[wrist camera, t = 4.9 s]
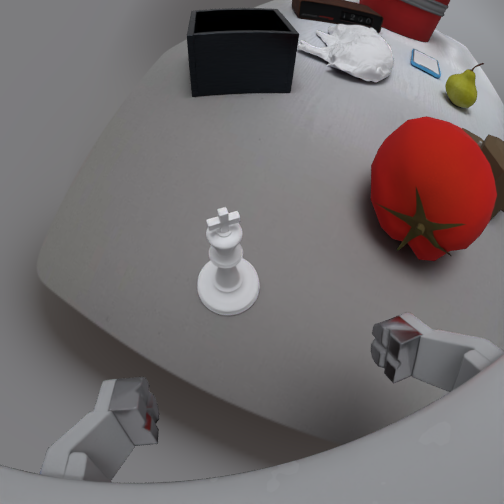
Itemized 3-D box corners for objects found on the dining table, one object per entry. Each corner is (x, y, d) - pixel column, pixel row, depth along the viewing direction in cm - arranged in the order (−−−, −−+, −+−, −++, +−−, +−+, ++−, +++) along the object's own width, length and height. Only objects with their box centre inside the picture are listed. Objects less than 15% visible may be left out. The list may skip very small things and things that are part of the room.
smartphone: (437, 60, 53) (441, 76, 46) (436, 64, 54) (439, 80, 47) (413, 48, 55) (411, 61, 48) (411, 51, 56) (410, 65, 49)
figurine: (265, 44, 46) (267, 16, 40) (338, 31, 55) (342, 9, 49) (362, 92, 39) (372, 59, 33) (416, 71, 48) (425, 48, 42)
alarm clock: (297, 18, 57) (300, -1, 52) (291, 8, 63) (293, -8, 58) (379, 33, 59) (384, 17, 53) (365, 21, 64) (369, 6, 59)
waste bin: (192, 97, 36) (186, 35, 27) (194, 58, 42) (191, 11, 33) (290, 93, 37) (299, 33, 29) (272, 55, 43) (277, 9, 35)
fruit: (441, 101, 42) (463, 54, 31) (439, 89, 45) (458, 45, 34) (470, 119, 41) (494, 74, 30) (466, 104, 44) (487, 63, 33)
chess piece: (190, 268, 24) (165, 189, 15) (246, 250, 25) (251, 166, 16) (208, 324, 22) (187, 269, 13) (268, 303, 23) (288, 237, 14)
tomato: (403, 190, 33) (359, 266, 29) (383, 96, 26) (327, 154, 21) (495, 208, 24) (477, 301, 20) (496, 102, 17) (498, 174, 12)
